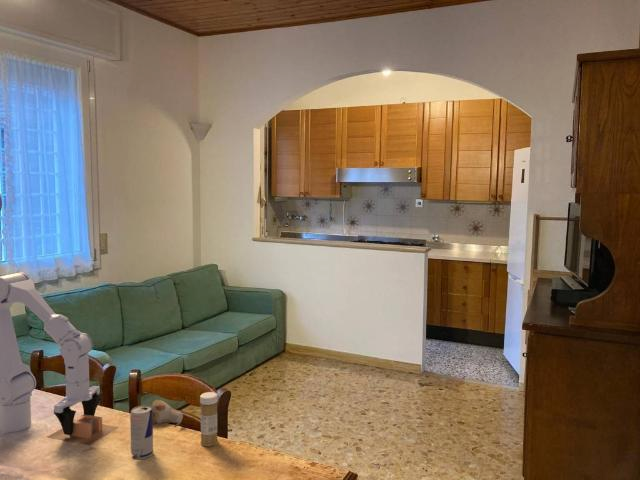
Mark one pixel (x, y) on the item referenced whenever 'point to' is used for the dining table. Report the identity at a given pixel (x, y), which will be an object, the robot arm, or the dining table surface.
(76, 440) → the stand
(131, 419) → the energy drink
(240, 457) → the dining table surface
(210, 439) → the sprinkles bottle
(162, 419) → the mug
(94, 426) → the c link
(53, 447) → the dining table surface
